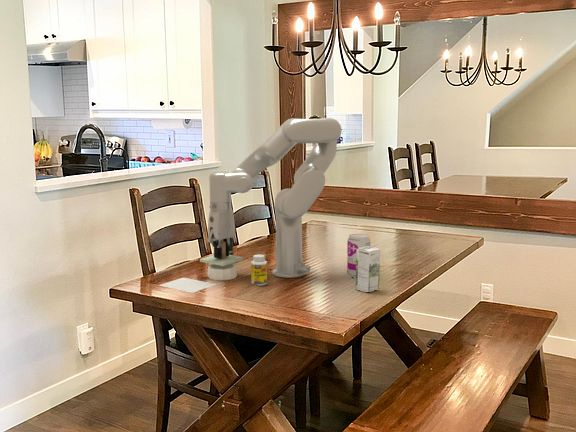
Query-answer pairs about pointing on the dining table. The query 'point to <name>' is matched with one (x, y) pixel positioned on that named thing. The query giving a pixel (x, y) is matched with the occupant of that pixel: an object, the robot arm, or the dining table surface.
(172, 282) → the mat
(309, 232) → the dining table surface
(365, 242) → the supplement can
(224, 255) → the lid
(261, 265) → the supplement bottle
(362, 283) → the syrup box
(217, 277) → the bowl
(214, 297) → the dining table surface
